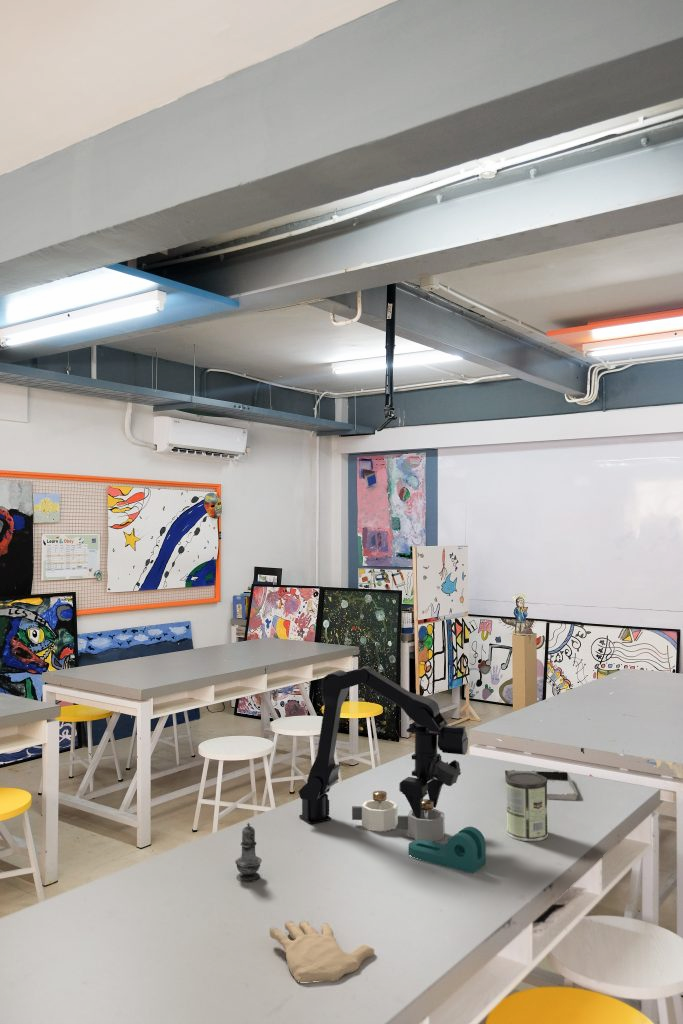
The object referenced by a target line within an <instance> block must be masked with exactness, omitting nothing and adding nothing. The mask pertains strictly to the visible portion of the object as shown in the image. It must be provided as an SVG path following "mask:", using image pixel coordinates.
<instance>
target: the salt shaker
mask: <svg viewBox="0 0 683 1024" xmlns="http://www.w3.org/2000/svg"><path fill="white" fill-rule="evenodd" d="M250 825H251V824H250V823H249V822H248V823H246V826H245V827H243V828H242V831H241V833H242V834H241V842H240V846H241V855H240V857H238V858H236V859H235V861H234V863H235V864H236V868H237V870H238V872H239V873H237V875H236V880H237V881H239V882H243V883H252V882H257V881H258V880H260V879H261V874H260V873H259V872H258V871H259V869H260V867H261V863H262V861H263V860H262V858H261V857H259V856H257V854H256V845H257V841H255V840H256V831H255V828H254V827H252V826H250Z"/></svg>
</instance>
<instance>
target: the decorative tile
mask: <svg viewBox="0 0 683 1024" xmlns="http://www.w3.org/2000/svg"><path fill="white" fill-rule="evenodd" d="M513 773H534V774H539V775H542V776H544V777H546V778H547V780H560V781H561V780H566V781H567V782H568V783H569V785H570V787H571V789H572V790H573V792H574V793H566V794H565V793H562V794H560V793H559V794H557V793H556V794H555V793H547V800H562V801H563V800H565V801H578V800H579V799H578V797H579V796H578V795H579V794H578V793H579V792H578V790H577V788H576V787H575V785H574V782H573V781H572V778H571V777H570V775H569V773H568V771H567V772H565V771H536V770H515V769H511V770H504V775H505V776H504V778H505V779H504V780H506V776H507V775H509V774H513Z"/></svg>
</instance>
